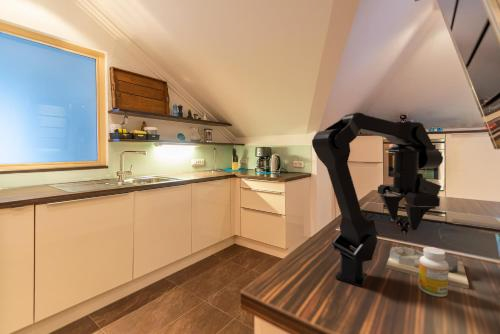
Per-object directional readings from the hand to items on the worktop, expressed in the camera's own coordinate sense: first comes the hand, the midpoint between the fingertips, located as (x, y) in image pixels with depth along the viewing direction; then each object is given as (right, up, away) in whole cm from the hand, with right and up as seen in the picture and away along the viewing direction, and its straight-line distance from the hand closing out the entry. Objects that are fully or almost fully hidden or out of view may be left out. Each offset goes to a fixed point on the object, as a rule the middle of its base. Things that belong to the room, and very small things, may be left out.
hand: (403, 224), depth 66 cm
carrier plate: (+6, -12, 0) cm, 14 cm away
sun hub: (+10, -12, -2) cm, 16 cm away
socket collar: (+3, -12, +3) cm, 13 cm away
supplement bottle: (0, -13, -11) cm, 17 cm away
